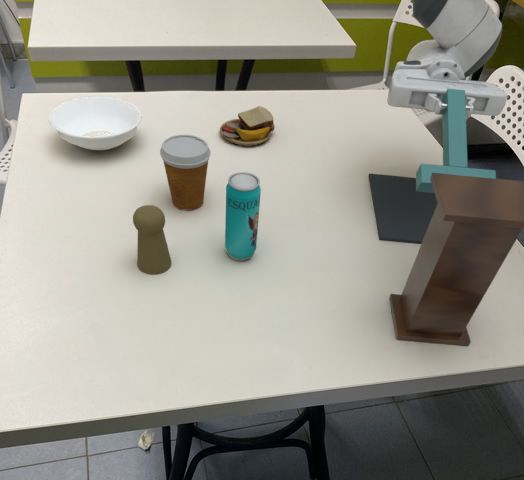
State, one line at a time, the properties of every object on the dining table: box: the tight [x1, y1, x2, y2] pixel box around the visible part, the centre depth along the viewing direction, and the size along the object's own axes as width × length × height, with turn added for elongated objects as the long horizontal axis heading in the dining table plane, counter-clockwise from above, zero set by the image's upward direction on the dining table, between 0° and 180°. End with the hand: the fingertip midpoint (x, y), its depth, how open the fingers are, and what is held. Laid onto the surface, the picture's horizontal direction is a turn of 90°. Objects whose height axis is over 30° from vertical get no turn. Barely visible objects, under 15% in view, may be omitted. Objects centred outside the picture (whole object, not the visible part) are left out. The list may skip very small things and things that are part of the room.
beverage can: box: [224, 171, 262, 262], centre depth 86 cm, size 6×6×15 cm
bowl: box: [48, 95, 143, 151], centre depth 111 cm, size 20×20×6 cm
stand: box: [388, 173, 524, 347], centre depth 75 cm, size 13×10×24 cm
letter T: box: [415, 89, 497, 193], centre depth 81 cm, size 12×18×2 cm, turn 177°
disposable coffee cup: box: [159, 134, 212, 211], centre depth 96 cm, size 10×10×12 cm
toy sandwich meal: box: [219, 105, 275, 147], centre depth 119 cm, size 12×14×5 cm
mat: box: [368, 172, 438, 244], centre depth 105 cm, size 16×24×1 cm, turn 177°
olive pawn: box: [132, 204, 173, 275], centre depth 84 cm, size 6×6×11 cm
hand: (454, 111), depth 82 cm, fingers closed on letter T, 3 cm apart
